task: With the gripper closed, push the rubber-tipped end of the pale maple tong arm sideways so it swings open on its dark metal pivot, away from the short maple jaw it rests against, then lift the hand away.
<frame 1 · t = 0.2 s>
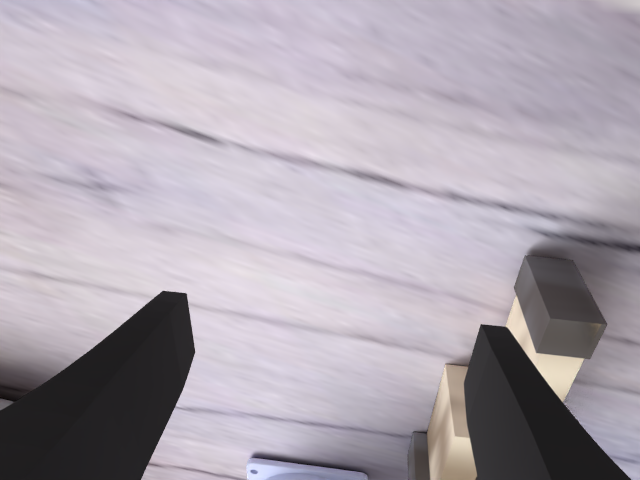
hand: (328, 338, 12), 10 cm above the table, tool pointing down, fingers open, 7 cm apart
tong arm: (521, 387, 23), point 2 cm above the table, hinge at 0.0°
tong pivot: (481, 429, 28), on the table
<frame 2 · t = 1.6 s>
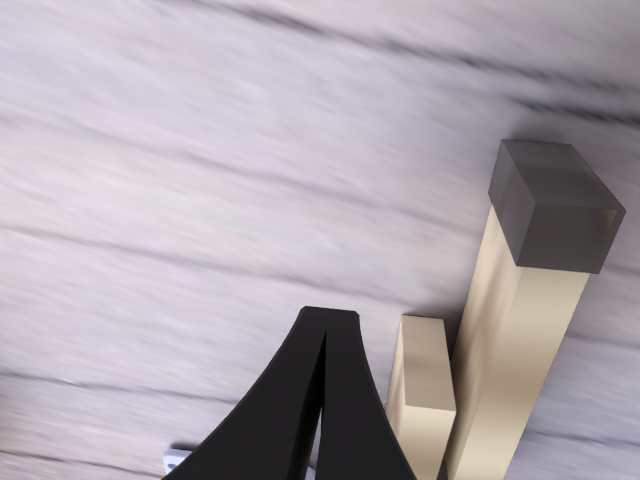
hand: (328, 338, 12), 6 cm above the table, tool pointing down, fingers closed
tong arm: (500, 336, 16), point 2 cm above the table, hinge at 0.0°
tong pivot: (455, 407, 22), on the table
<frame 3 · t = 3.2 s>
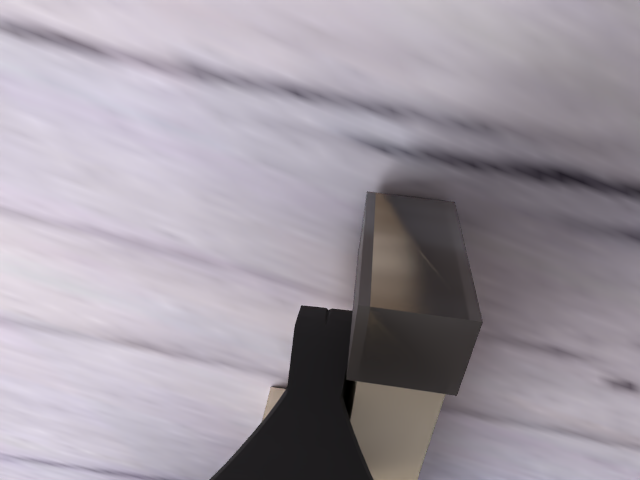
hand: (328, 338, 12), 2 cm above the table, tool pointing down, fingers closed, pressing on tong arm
tong arm: (372, 433, 13), point 2 cm above the table, hinge at 2.0°, touching gripper
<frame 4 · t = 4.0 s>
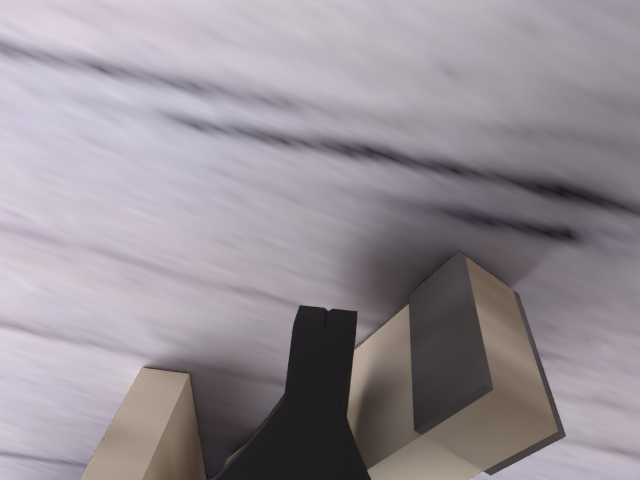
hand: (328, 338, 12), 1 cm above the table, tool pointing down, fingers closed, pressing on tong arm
tong arm: (335, 450, 13), point 2 cm above the table, hinge at 33.3°, touching gripper
tong pivot: (239, 467, 18), on the table
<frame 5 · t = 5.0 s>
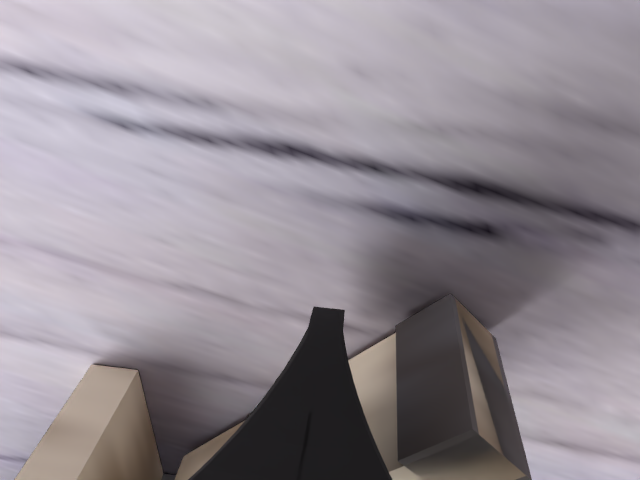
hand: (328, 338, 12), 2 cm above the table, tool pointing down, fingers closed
tong arm: (303, 462, 14), point 2 cm above the table, hinge at 43.4°, touching gripper
tong pivot: (195, 463, 19), on the table
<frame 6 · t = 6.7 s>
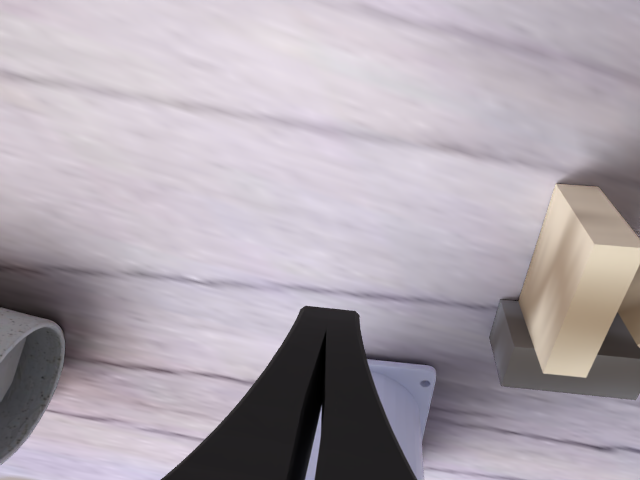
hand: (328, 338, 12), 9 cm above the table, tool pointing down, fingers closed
ceramic mug: (7, 337, 28), on the table
tong pivot: (593, 290, 22), on the table
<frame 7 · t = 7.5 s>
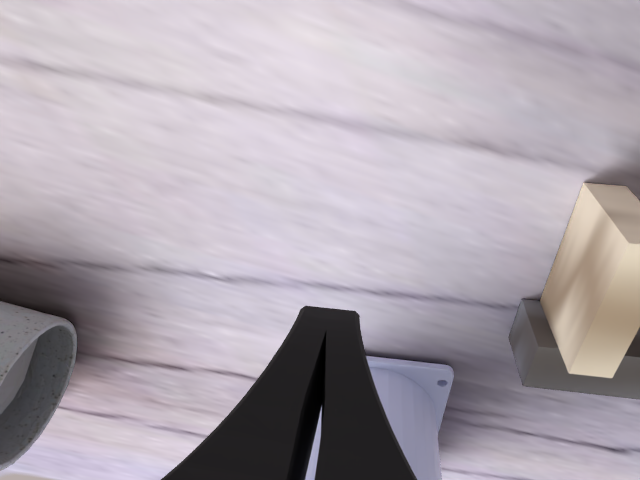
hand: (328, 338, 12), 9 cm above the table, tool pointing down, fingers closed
ceramic mug: (18, 335, 28), on the table
tong pivot: (616, 290, 21), on the table
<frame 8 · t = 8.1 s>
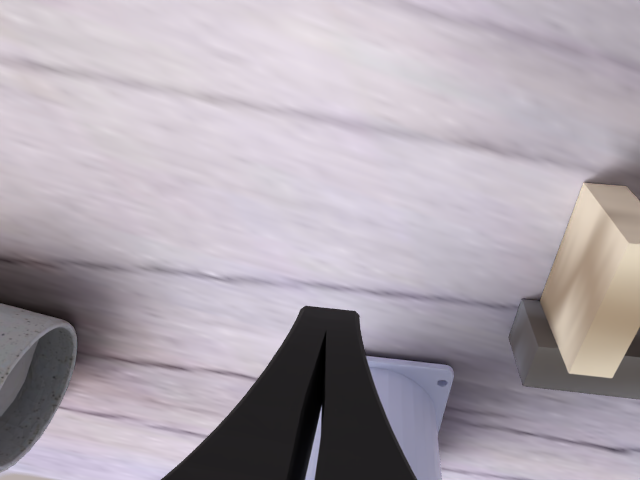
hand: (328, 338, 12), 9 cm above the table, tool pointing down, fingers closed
ceramic mug: (19, 336, 28), on the table
tong pivot: (616, 290, 21), on the table
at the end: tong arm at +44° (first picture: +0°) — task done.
